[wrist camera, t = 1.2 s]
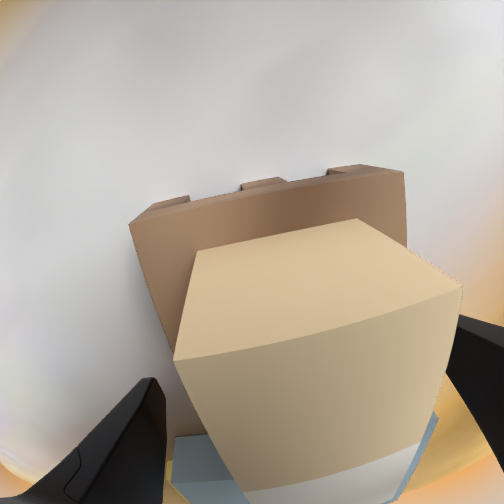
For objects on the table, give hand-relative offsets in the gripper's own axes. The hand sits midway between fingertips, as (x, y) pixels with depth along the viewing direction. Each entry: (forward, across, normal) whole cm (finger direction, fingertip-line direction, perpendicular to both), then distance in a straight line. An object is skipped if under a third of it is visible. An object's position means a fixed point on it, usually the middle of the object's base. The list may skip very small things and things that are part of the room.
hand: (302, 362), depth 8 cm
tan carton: (0, 0, -2) cm, 2 cm away
